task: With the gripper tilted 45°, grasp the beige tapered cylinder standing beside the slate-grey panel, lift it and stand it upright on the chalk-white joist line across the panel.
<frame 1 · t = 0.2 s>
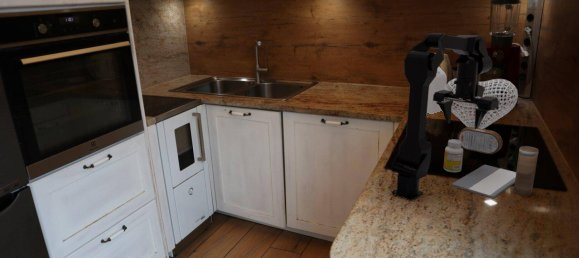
hand: (462, 125, 132), 14 cm above the worktop, tool pointing down, fingers open, 9 cm apart
heart: (475, 131, 175), on the worktop
supplement bottle: (452, 170, 135), on the worktop
tin: (477, 151, 151), on the worktop
beige tapered cylinder: (522, 192, 118), on the worktop
slate-grey panel: (488, 181, 126), on the worktop
milk: (427, 113, 206), on the worktop
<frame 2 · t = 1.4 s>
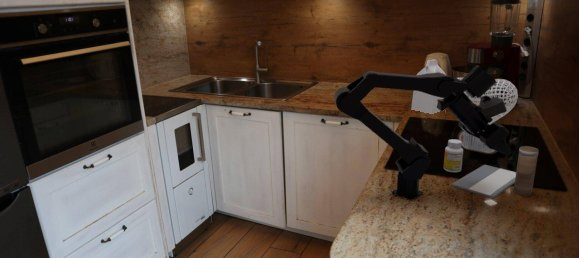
hand: (500, 148, 114), 13 cm above the worktop, tool tilted 45°, fingers open, 9 cm apart
nothing on the worktop moved.
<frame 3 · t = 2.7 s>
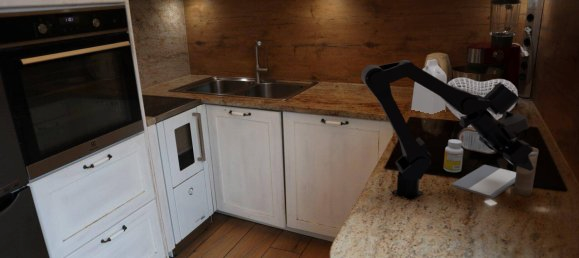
hand: (522, 163, 116), 9 cm above the worktop, tool tilted 45°, fingers open, 9 cm apart
nothing on the worktop moved.
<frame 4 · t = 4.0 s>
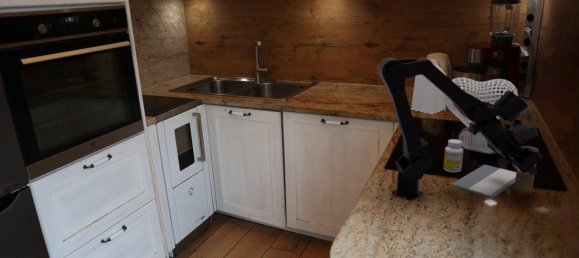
hand: (530, 170, 116), 7 cm above the worktop, tool tilted 45°, fingers closed on beige tapered cylinder, 4 cm apart
beige tapered cylinder: (522, 192, 118), on the worktop, touching gripper
everything else where it was.
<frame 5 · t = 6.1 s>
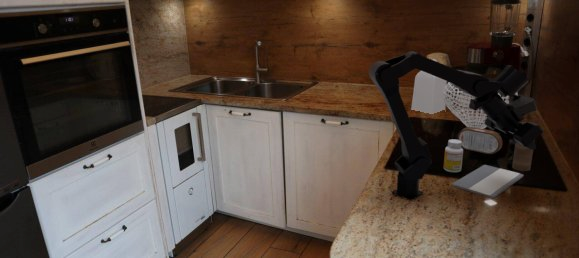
hand: (529, 145, 117), 13 cm above the worktop, tool tilted 45°, fingers closed on beige tapered cylinder, 4 cm apart
beige tapered cylinder: (521, 168, 119), point 6 cm above the worktop, touching gripper
everything else where it was.
when the fingers open (8 cm above the worktop, at t = 8.3 s): beige tapered cylinder drops 1 cm, resting on slate-grey panel.
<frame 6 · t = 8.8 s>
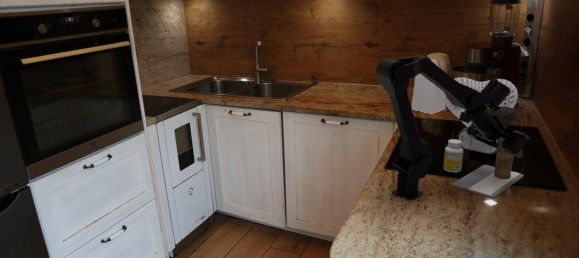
hand: (509, 151, 126), 8 cm above the worktop, tool tilted 45°, fingers open, 9 cm apart
beige tapered cylinder: (501, 176, 127), point 1 cm above the worktop, touching slate-grey panel
everything else where it was.
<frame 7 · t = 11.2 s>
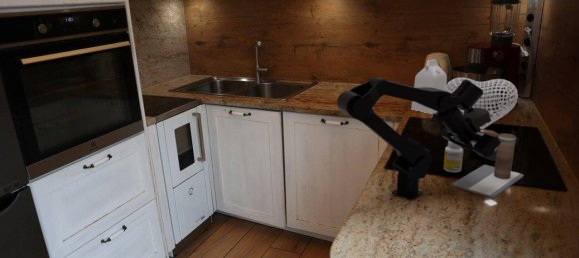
hand: (483, 154, 123), 9 cm above the worktop, tool tilted 45°, fingers open, 9 cm apart
nothing on the worktop moved.
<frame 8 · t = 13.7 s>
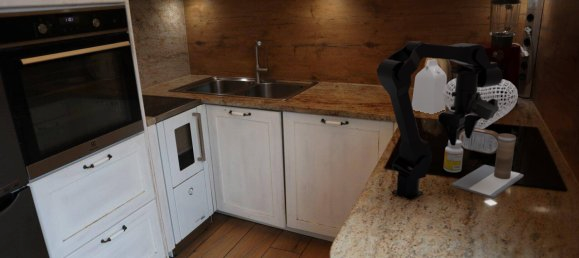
hand: (460, 141, 121), 13 cm above the worktop, tool pointing down, fingers open, 9 cm apart
nothing on the worktop moved.
at the end: beige tapered cylinder 0.1 cm from the target spot, point 0.7 cm above the worktop; beige tapered cylinder tilted 0°; the gripper is holding nothing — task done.
